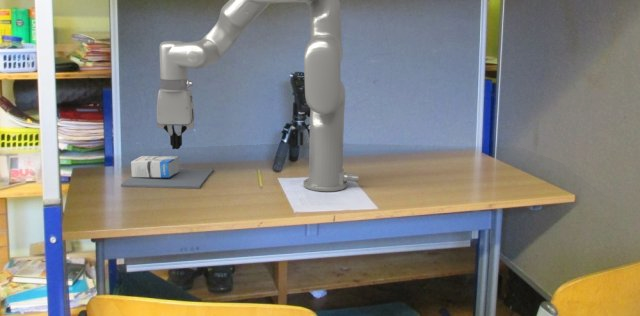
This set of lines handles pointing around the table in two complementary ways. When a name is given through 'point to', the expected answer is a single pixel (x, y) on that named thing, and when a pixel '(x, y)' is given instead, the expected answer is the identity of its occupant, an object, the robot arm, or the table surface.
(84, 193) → the table surface
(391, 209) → the table surface
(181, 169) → the slate mat
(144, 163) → the ink box
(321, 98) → the robot arm
